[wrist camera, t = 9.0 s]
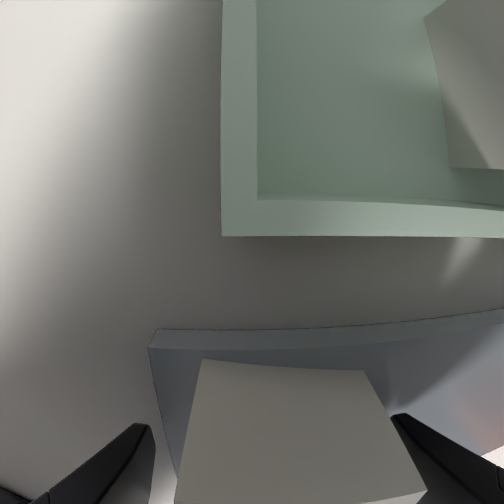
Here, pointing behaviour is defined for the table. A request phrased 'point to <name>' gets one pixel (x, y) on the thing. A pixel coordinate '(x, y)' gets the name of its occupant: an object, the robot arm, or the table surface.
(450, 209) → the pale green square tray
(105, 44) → the table surface
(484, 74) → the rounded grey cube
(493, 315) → the slate board
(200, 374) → the grey stone cube
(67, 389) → the table surface
